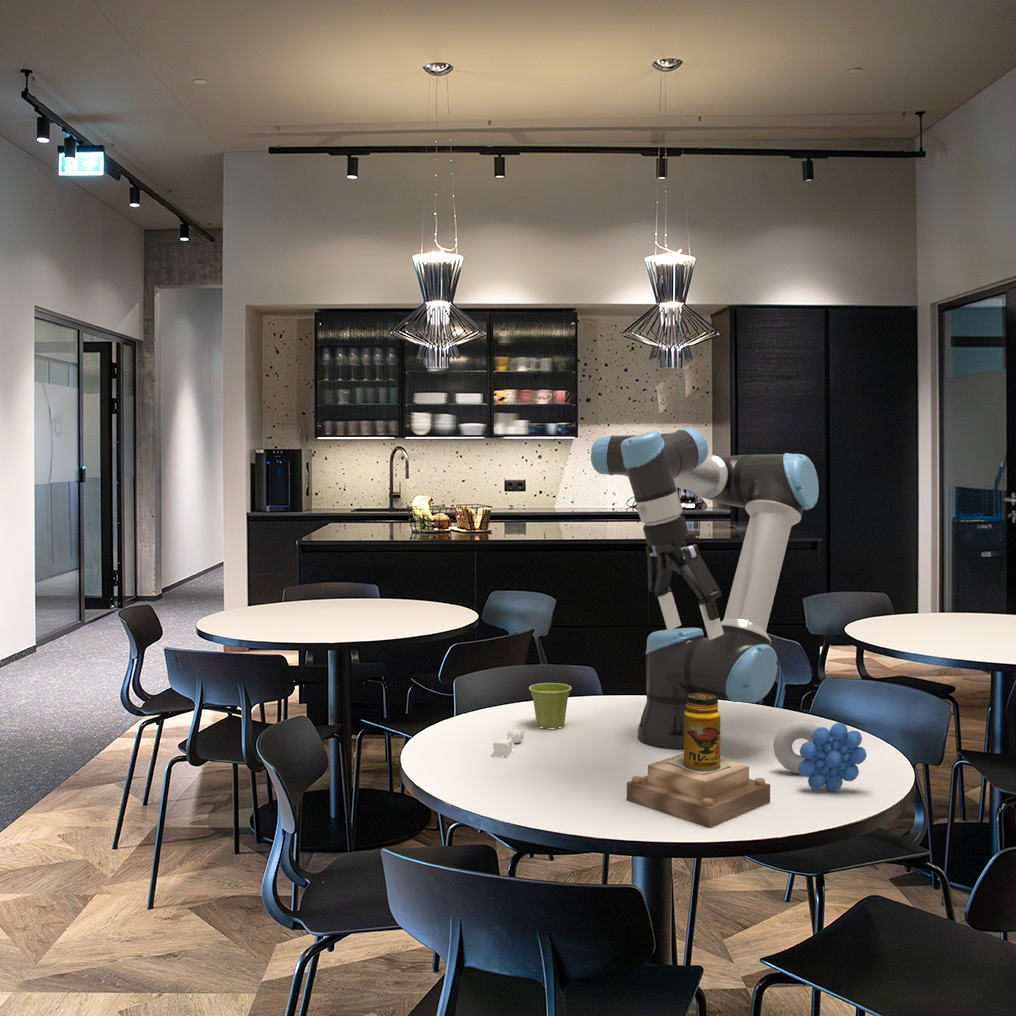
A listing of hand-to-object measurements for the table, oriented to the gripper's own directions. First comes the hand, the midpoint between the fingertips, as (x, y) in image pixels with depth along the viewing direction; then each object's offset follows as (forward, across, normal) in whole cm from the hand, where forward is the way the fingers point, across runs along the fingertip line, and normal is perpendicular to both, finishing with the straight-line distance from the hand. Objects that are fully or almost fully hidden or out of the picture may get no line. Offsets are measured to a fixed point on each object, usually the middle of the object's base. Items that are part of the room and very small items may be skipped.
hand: (694, 632), depth 164 cm
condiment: (+19, +8, -11) cm, 23 cm away
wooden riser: (+25, +8, -13) cm, 29 cm away
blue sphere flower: (+32, +11, +11) cm, 36 cm away
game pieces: (+19, -32, -30) cm, 48 cm away
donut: (+32, +2, +12) cm, 35 cm away
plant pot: (+22, -45, -16) cm, 53 cm away
